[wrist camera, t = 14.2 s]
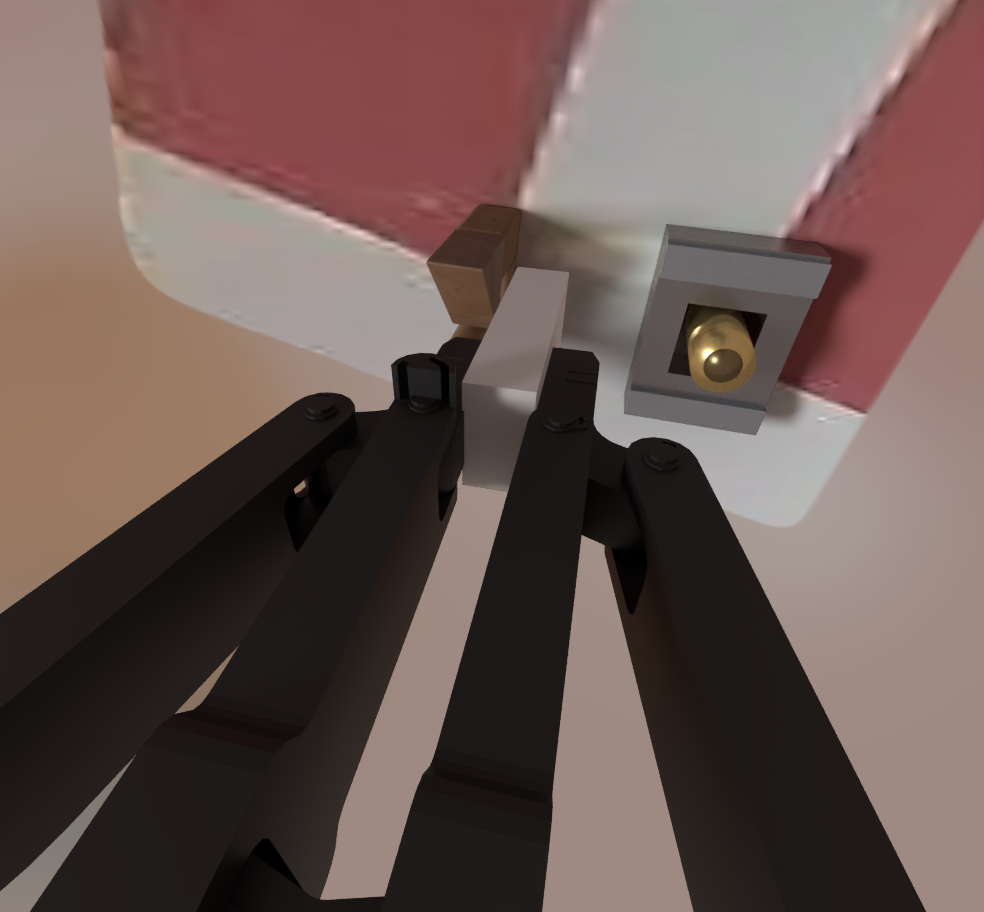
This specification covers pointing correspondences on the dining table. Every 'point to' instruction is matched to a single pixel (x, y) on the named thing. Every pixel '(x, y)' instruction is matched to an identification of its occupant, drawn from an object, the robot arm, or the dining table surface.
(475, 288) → the brown wooden stand
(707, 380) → the bushing
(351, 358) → the dining table surface
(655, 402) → the jig
